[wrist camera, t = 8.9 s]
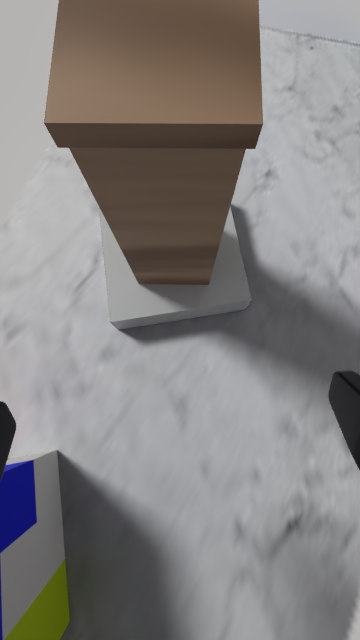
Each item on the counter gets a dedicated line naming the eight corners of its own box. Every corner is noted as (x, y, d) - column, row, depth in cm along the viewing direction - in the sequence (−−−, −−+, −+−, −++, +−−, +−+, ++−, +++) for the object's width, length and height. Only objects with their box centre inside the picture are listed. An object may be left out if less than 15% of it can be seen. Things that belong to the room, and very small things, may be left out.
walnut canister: (211, 287, 21) (262, 124, 7) (135, 286, 21) (43, 122, 7) (211, 217, 22) (256, -44, 8) (139, 216, 22) (64, -43, 8)
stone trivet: (244, 311, 23) (252, 299, 20) (119, 331, 23) (110, 322, 20) (220, 204, 26) (224, 180, 23) (108, 221, 26) (98, 199, 23)
